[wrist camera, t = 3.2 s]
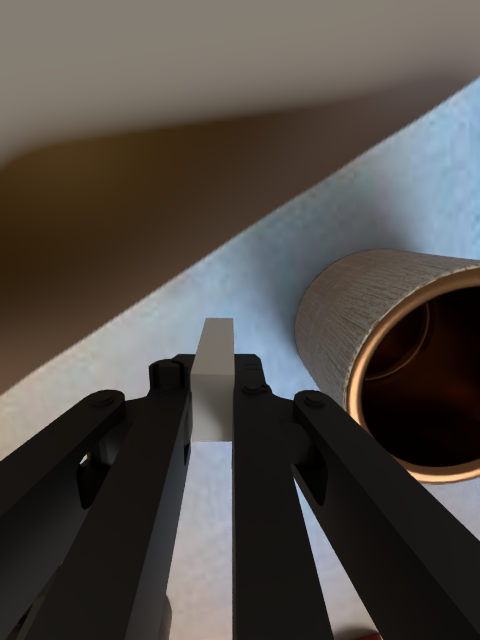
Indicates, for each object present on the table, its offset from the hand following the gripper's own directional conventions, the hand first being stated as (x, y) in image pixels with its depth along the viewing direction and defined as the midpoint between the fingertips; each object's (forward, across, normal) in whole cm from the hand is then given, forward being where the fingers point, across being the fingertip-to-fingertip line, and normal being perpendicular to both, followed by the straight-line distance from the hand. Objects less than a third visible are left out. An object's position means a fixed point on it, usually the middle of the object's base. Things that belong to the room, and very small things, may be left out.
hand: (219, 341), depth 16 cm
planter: (+5, -11, 0) cm, 12 cm away
